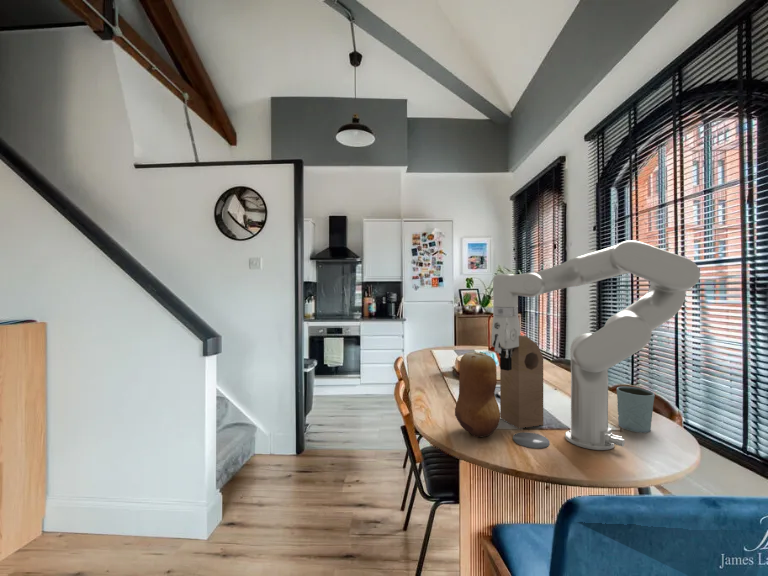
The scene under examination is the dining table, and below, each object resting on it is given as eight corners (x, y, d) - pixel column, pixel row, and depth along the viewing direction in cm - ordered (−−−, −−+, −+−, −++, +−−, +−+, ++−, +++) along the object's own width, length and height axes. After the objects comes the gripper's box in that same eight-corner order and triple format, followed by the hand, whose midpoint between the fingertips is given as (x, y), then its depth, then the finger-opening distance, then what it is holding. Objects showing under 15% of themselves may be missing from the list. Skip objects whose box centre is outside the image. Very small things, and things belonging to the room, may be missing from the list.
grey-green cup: (616, 419, 124) (616, 384, 124) (652, 425, 119) (652, 389, 119) (617, 429, 115) (617, 392, 115) (656, 436, 110) (656, 397, 110)
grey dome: (555, 442, 106) (555, 439, 106) (538, 451, 100) (538, 449, 100) (524, 431, 114) (524, 429, 114) (506, 439, 108) (506, 437, 108)
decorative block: (500, 418, 125) (499, 331, 125) (523, 415, 128) (523, 330, 128) (518, 428, 116) (518, 335, 116) (543, 425, 119) (543, 334, 119)
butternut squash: (508, 434, 112) (508, 353, 112) (485, 447, 102) (485, 359, 103) (470, 422, 122) (470, 348, 122) (445, 433, 113) (445, 352, 113)
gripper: (502, 314, 109) (503, 375, 108) (528, 312, 118) (528, 368, 118) (481, 313, 114) (482, 371, 114) (507, 311, 124) (508, 364, 124)
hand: (505, 369), depth 116 cm, fingers closed
